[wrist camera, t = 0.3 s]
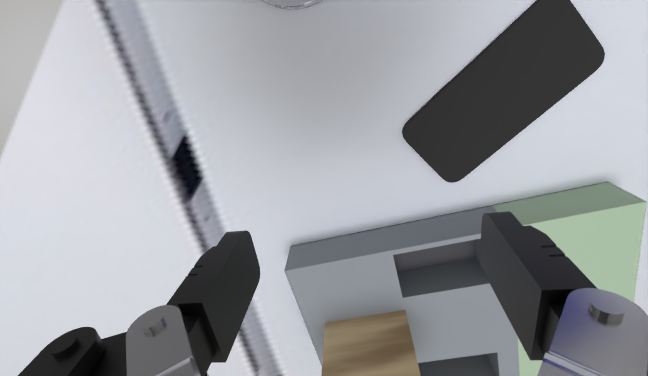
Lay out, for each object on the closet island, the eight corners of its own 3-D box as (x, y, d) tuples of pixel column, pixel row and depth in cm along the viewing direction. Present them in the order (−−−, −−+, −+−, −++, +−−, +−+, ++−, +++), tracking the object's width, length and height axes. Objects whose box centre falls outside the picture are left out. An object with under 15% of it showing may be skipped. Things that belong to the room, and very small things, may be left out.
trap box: (290, 246, 34) (284, 270, 30) (608, 181, 29) (646, 201, 25) (338, 374, 41) (338, 407, 38) (596, 340, 36) (624, 373, 33)
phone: (611, 59, 25) (452, 188, 29) (603, 59, 25) (449, 184, 30) (557, -18, 23) (397, 132, 28) (550, -16, 24) (395, 130, 28)
